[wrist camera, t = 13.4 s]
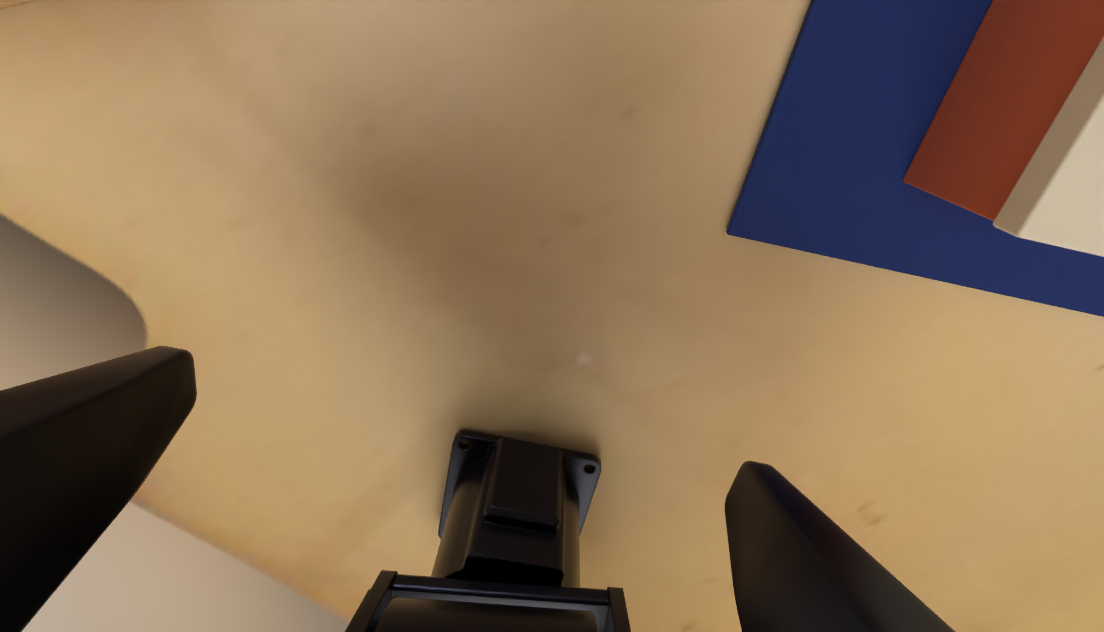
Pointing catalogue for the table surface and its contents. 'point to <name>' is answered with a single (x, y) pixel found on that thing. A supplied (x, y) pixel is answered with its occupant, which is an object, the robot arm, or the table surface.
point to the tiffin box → (1026, 125)
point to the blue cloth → (888, 158)
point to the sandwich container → (12, 2)
